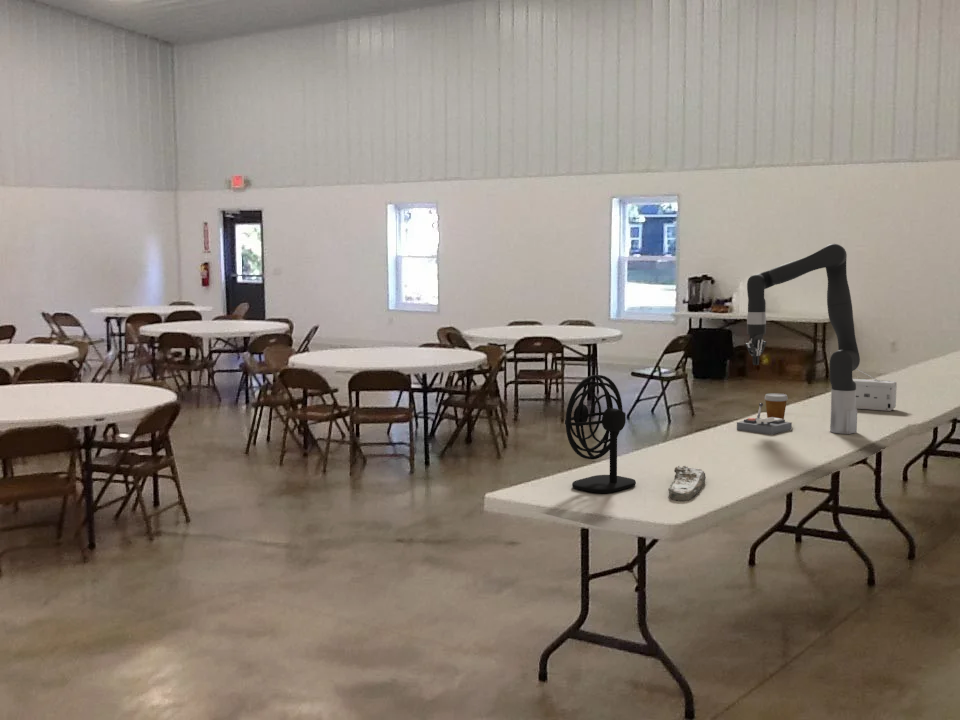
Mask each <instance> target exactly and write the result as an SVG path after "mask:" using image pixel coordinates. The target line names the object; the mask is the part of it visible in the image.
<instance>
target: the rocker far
mask: <svg viewBox="0 0 960 720" xmlns="http://www.w3.org/2000/svg"><path fill="white" fill-rule="evenodd" d="M772 421H775V420H774V417H770V418H767V417H766V418H765V417H764V418H762V419H758V420H756V422H757V424H759V423H761V422H764V423H766V422H772Z"/></svg>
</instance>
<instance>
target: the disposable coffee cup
mask: <svg viewBox="0 0 960 720" xmlns="http://www.w3.org/2000/svg"><path fill="white" fill-rule="evenodd" d="M788 399H789V398H788V395H787V394H786V393H785V394H784V393H777V392H776V393H774V392H773V393H766V394H765V395H764V400H765V407H766V409H765V410H766V418H770V417H774V418H781V419H783V420H785V412H786V408H787V403H788V402H787V401H788Z"/></svg>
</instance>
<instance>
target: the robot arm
mask: <svg viewBox="0 0 960 720" xmlns="http://www.w3.org/2000/svg"><path fill="white" fill-rule="evenodd" d="M847 255H848V253H847V251H846V249H845V248H844V246H842V245H840V244H837V243H830V244H827V245H826V246H825V247H822V248H821V249H819V250H817V251H815V252H813V253H811V254H809V255H807V256H805V257H802V258H799V259H796V260H792V261H790V262H786V263H783V264H781V265H778V266H775V267H773V268H771V269H768V270H767V271H766V270H765V271H763V272H760V273H757V274H756V273H755V274H752V275H750V277H748V278H747V283H746V288H747V289H746V291H747V298H748V299H747V315H746V334H747V335H749V336H748V337H749V338H748V342H746V343H745V347H746V349H747V351H748V354H749V355H751V357H752V365H753V366H759V365H760V356H761V355H762V354H763V353H764V351H765V348H766V346H767V341H765V340H764V335H766V334H767V315H766V309H767V308H766V307H767V303H766V299H765V290H766V289H768V288H771V287H773V286H777V285H781V284H784V283H787V282H789V281H792V280H795V279H797V278H799V277H801V276H803V275H805V274H807V273H810V272H813V271H816V270H819V269H824V268H825V271H826V272H825V273H826V276H827V289H826V290H827V291H826V305H827V314H828V319H829V322H830V325H831V326H832V329H833V330H834V333H835V335H836V338H837V346H838V347H837V348H838V349H837V350H836V351H834V352H832V354H831V356H830V358H829V382H830V386H831V391H830V420H829V421H830V423H829V424H830V425H829V426H830V427H829V429H830V430H829V431H830V433H835V434H841V435H842V434H843V435H844V434H846V435H847V434H848V435H850V434H855V433H857V431H858V430H857V429H858V409H857V408H855V402H856V383H855V382H854V381H853V379H854V378H853V371H856V370H857V369H858V368H859V366H860V363H861V358H860V352H859V347H858V344H857V343H858V342H857V338H856V332H855V323H854V322H855V321H854V313H853V303H852V296H851V295H852V294H851V291H850V287H849V283H848V282H849V281H848V278H847V277H848V276H847V259H848V258H847V257H848V256H847Z"/></svg>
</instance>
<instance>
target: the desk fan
mask: <svg viewBox="0 0 960 720" xmlns="http://www.w3.org/2000/svg"><path fill="white" fill-rule="evenodd" d="M592 379H593V380H594V379H596V380H598V381H593V380H592ZM603 380H604V381H605V382H604V381H603ZM606 382H607V383H606ZM589 385H590V386H589ZM588 386H589V387H588ZM598 386H599V387H600V388H601V389H602V390H603V393H604V394H601V395H599V396H598V397H597V395H596V394H594V393H593V392H591V391H592V390H593V389H594V388H597V387H598ZM607 387H608V388H610V390H611V391H612V392H613V394H614V395H615V396H613V395H612V394H610V392H609V390H608V389H607ZM581 390H582V392H580V391H581ZM588 394H589V395H591V396H592V397H593V398H594V399H595V400H594V401H593V403H592V405H591V408H590V411H589V409H588V407H587V405H586V404H584V401H585V399H586V397H587V396H588ZM604 397H605V403H606V409H605V410H604V411H602V407H601V406H602V405H601V402H600V400H601V399H602V398H604ZM579 398H580V399H579ZM578 399H579V401H578V405H577V406H576V407H575V409H574V405H575V404H576V402H577V400H578ZM613 401H614V402H615V403H616V406H617V408H614V405H613ZM596 405H597V406H598V412H594V409H595V407H596ZM573 409H574V412H573ZM572 413H573V416H572ZM597 416H598V418H597V420H594V421H592V418H593V417H597ZM626 418H627V417H626V412H624V410H623V403H622V398H621V393H620V391H619V388H618V386H616V384H615V382H614V381H613V380H612V379H610V378H609V377H607V376H605V375H602V374H592V375H589V376H587V377H584V378H583V379H582V380H581V381H580V382H579V383H578V384H577V385H576V387H575V388H574V390H573V392H572V393H571V396H570V398H569V401H568V403H567V408H566V413H565V420H564V424H565V432H566V435H567V439H568V442H569V445H570V447H571V449H572V450H573V451H574V452H575V454H576V455H577V456H579V457H580V458H583V459H585V460H597V459H600V458H602V457H603V456H605V455H606V454H607V453H608V452H609V474H597V475H593V476H588V477H585V478H581V479H580V478H579V479H577V480H574V481H573V482H572V484H571V486H572V488H574V489H575V490H580V491H585V492H590V493H598V494H607V493H614V492H619V491H622V490H625V489H629V488H632V487H634V486H636V484H637V483H636V480H635V479H633V478H630V477H626V476H621V475H618V438H619V434H620V432H621V431H623V429H624V428H625V426H626V422H627V421H626V420H627V419H626ZM572 421H573V422H572ZM600 424H601V425H602V428H603V429H604V431H605V433H604V434H603V436H602V438H601V439H600V440H599V439H598V438H597V437H596V435H595V434H596V432H597V430H598V428H599V427H600ZM593 425H595V428H594V430H593V428H592V427H593ZM584 426H588V428H589V432H590V434H589V435H588V436H585V431H584V430H585V429H584ZM573 427H575V430H574V428H573ZM573 436H574V437H575V438H577V439H578V441H579V443H580V445H581V446H582V447H581V446H579V445H578V444H577V442H576V440H575V439H574V437H573ZM591 438H593V439H594V440H595V441H596V442H597V444H595V446H593V447H589V446H588V444H587V440H588V439H591ZM601 446H603V447H602V448H601V449H598V448H600V447H601ZM597 449H598V450H597ZM582 452H586V453H587V455H586V454H583V453H582ZM592 453H595V454H596V455H594V454H592Z"/></svg>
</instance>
